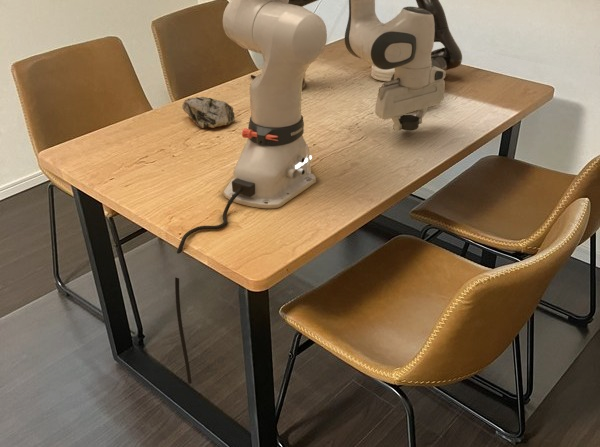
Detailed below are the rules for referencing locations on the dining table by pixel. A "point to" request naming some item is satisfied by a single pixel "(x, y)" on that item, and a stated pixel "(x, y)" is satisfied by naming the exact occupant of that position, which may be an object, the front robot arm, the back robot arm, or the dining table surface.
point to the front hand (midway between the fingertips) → (407, 126)
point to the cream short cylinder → (382, 73)
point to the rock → (208, 112)
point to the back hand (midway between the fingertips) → (401, 92)
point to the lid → (409, 122)
